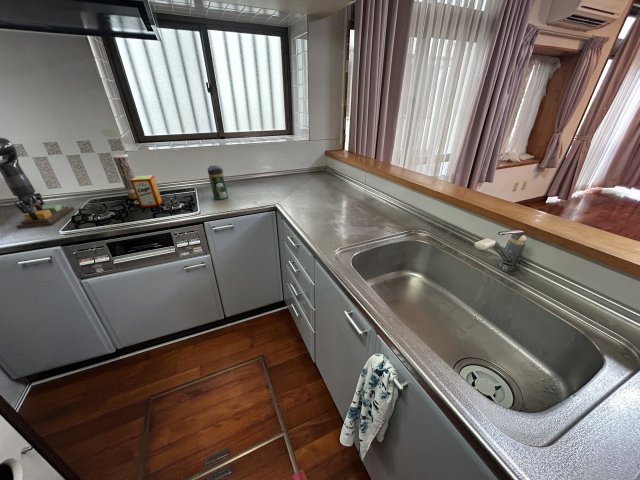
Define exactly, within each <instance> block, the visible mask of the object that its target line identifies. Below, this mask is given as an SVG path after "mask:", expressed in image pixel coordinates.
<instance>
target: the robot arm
mask: <svg viewBox="0 0 640 480" xmlns="http://www.w3.org/2000/svg"><path fill="white" fill-rule="evenodd" d="M0 157H1V160H0V175H1V177H2V178H3V180H4V182H5V184H6V185H7V187H8V189H9V190H10V192H11V193H12V195H13V196H14V197H17V200H18V201H17V202H14V205H15V207H16V208H17V209H18V210H19V211H20V212H21V213H22V214H27V213H28V214H29V216H30V217H31V219H32V220H37V219H38V217H37V216H36V214H35V212H34V211H39V210H43V208H42V207H43V206H45V201H44V199H43V197H42V194H41V193H40V192H36V189H35V188H34V186H33V184H32V183H31V180H30V179H29V178H28V176H27V175H26V173H25V172H24V170H23V168H22V167H21V165H20V162H19V161H20V160H19V157H18V152H17V148H16V147H15V144H14V143H13V142H11V140H9V139H8V138H5V137H0ZM34 208H35V210H34Z"/></svg>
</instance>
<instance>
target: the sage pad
mask: <svg viewBox="0 0 640 480" xmlns="http://www.w3.org/2000/svg"><path fill="white" fill-rule="evenodd" d="M42 206H43V207H42V208H43V210H50V212H57V211H59V210H60V209H62V205H61V204H46V205H42Z"/></svg>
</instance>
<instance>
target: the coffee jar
mask: <svg viewBox="0 0 640 480" xmlns="http://www.w3.org/2000/svg"><path fill="white" fill-rule="evenodd" d="M207 174H208V178H209V183H210V188H211V192H212V195H213V198H214V199H215V200H225V199H227V198H228V197H229V194H228V191H227V184H226V181H225V176H224V175H225V174H224V170H223V168H222V167H221V166H219V165H217V164H214V165H209V166H208V167H207Z"/></svg>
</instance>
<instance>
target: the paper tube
mask: <svg viewBox="0 0 640 480" xmlns="http://www.w3.org/2000/svg"><path fill="white" fill-rule="evenodd" d="M112 158H113V161H114V164H115V165H116V169H117V171H118V174H119V176H120V179H121V181H122V183H123V186H124V189H125V191H126V194H127V196H128V198H129V199H130V200H136V199H137V196H136V194H135V191H134V189H133V186H132V183H131V181H130V180H131V179H132V178H134V177H136V175H135V172H134V169H133V167H132V165H131V161H130V159H129V156H128V154H127V153H120V154H114V155H112ZM137 200H138V199H137Z"/></svg>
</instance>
